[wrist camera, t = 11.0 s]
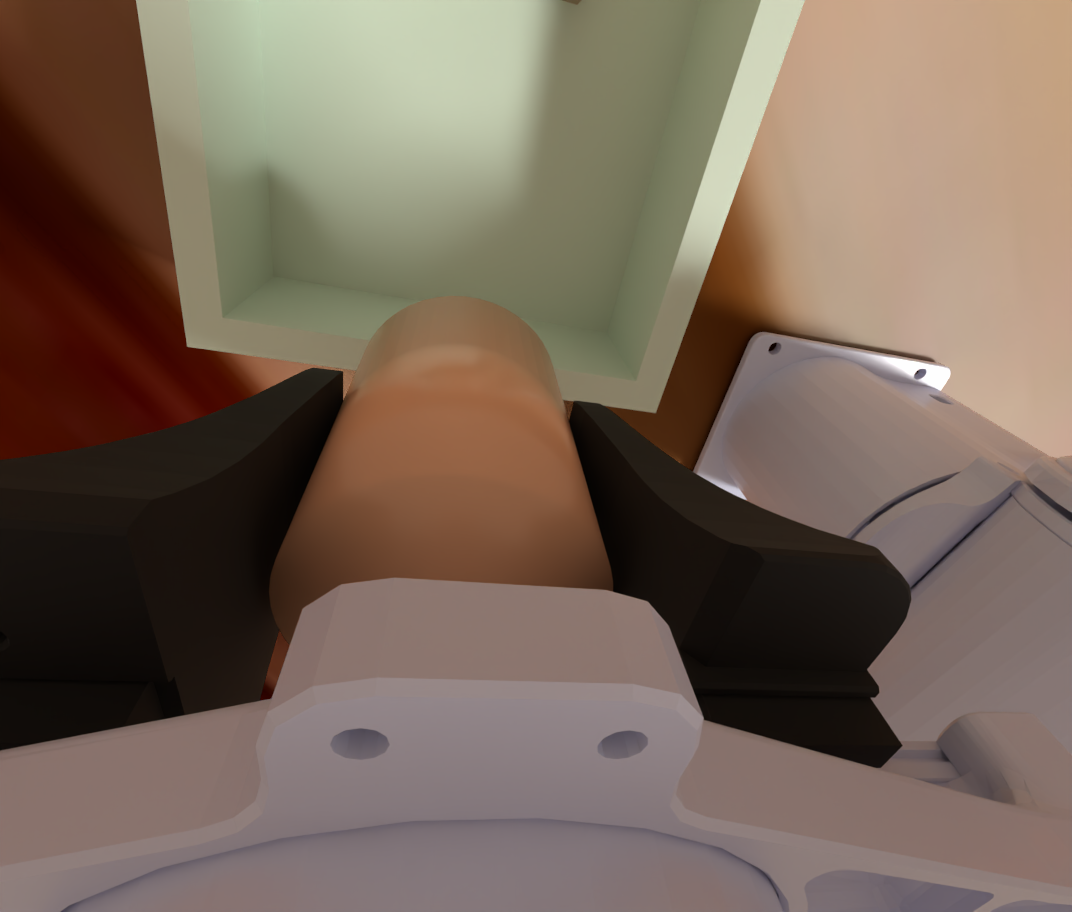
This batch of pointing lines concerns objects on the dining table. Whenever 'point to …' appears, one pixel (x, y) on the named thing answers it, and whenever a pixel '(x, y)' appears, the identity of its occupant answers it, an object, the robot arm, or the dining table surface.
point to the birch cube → (573, 1)
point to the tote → (456, 168)
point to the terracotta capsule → (445, 467)
